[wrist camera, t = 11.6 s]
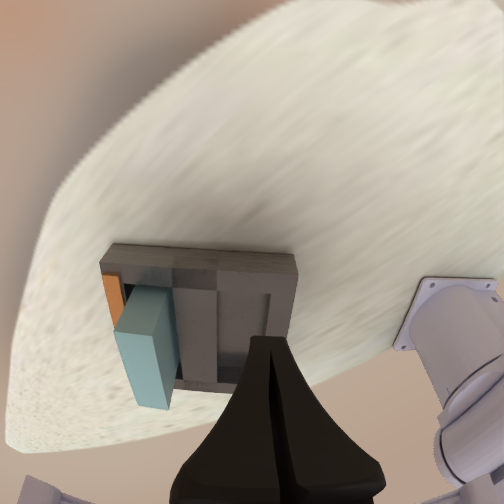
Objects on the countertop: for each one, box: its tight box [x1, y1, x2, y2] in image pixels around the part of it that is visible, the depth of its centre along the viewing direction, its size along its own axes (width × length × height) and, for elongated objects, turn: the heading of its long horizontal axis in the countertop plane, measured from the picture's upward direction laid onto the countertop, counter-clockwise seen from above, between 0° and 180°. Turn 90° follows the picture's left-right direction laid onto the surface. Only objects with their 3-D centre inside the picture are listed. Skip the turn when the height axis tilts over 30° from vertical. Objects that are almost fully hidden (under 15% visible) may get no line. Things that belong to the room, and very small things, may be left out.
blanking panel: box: [113, 284, 180, 410], centre depth 21 cm, size 2×8×6 cm, turn 176°
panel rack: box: [99, 244, 298, 394], centre depth 23 cm, size 13×13×3 cm
